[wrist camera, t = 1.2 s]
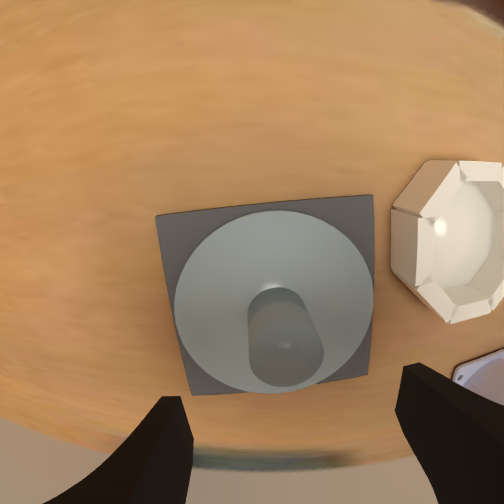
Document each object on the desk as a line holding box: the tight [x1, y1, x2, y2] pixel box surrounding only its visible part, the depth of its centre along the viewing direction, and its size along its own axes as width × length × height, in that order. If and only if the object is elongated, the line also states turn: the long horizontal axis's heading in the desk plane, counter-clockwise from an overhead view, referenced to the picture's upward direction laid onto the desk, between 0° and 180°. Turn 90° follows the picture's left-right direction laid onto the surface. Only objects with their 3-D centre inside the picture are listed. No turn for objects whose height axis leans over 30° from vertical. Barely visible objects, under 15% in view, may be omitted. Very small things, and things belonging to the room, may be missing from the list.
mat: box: [155, 195, 374, 396], centre depth 17 cm, size 11×11×1 cm
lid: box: [174, 209, 374, 394], centre depth 15 cm, size 10×10×5 cm
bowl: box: [390, 160, 504, 324], centre depth 15 cm, size 9×9×3 cm
